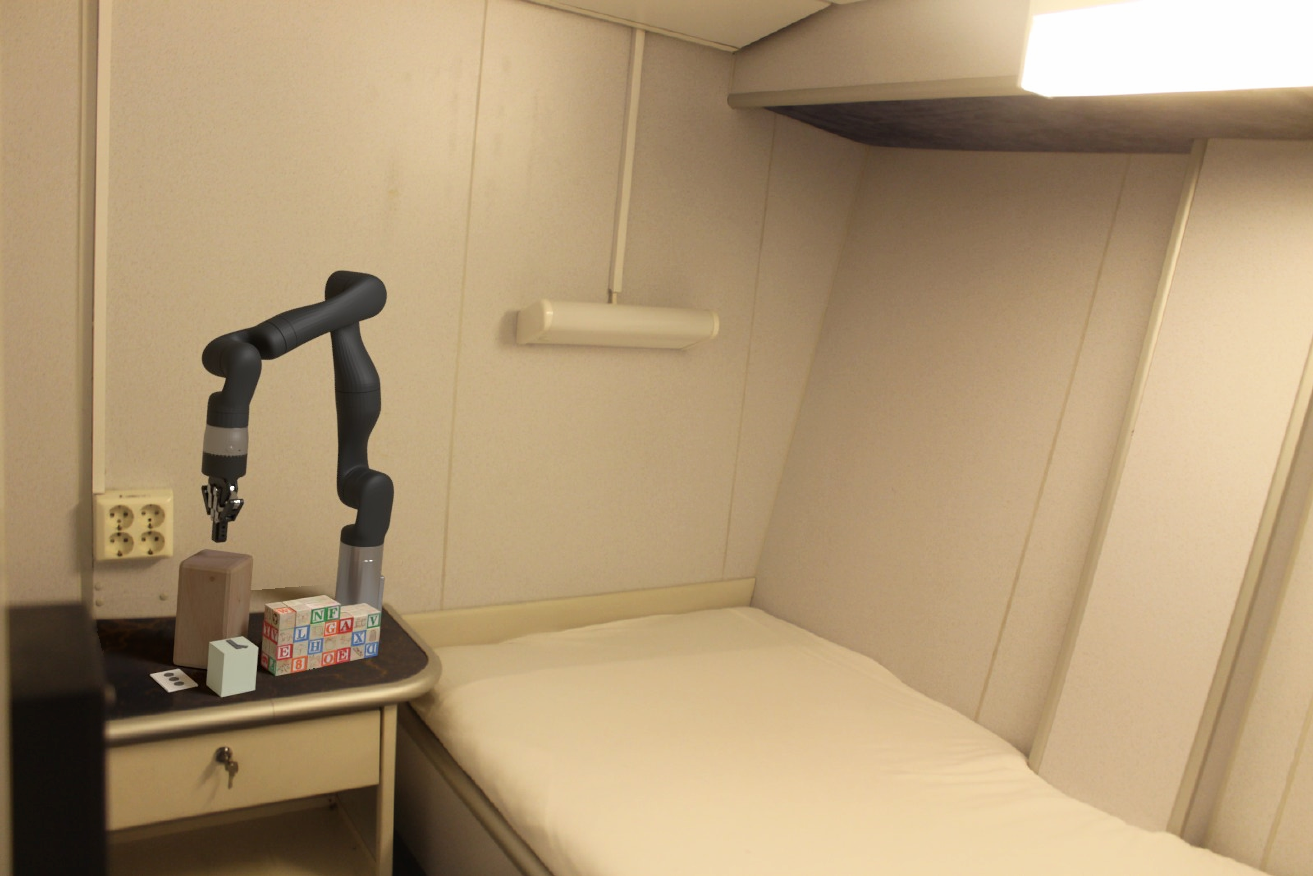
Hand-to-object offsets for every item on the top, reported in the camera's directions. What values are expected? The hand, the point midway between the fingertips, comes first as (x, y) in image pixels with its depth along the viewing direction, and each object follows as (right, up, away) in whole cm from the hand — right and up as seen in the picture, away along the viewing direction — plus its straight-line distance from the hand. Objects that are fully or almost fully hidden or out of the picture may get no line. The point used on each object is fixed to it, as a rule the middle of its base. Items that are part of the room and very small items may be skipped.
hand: (218, 541), depth 181 cm
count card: (-5, -24, -7) cm, 26 cm away
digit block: (+5, -25, -7) cm, 27 cm away
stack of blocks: (+15, -24, +10) cm, 31 cm away
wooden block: (-3, -23, +3) cm, 23 cm away
